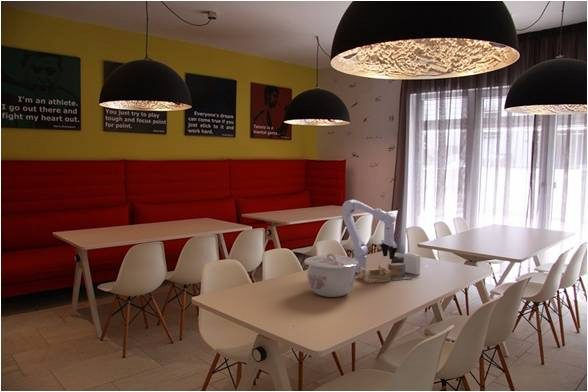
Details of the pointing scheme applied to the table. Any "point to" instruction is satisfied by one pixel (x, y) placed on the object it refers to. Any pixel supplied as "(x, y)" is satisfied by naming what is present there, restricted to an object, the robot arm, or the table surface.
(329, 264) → the chamber pot
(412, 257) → the photo printer
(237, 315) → the table surface
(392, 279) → the slate mat
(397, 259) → the rock
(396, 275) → the brown and grey block
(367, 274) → the wooden cubby shelf
